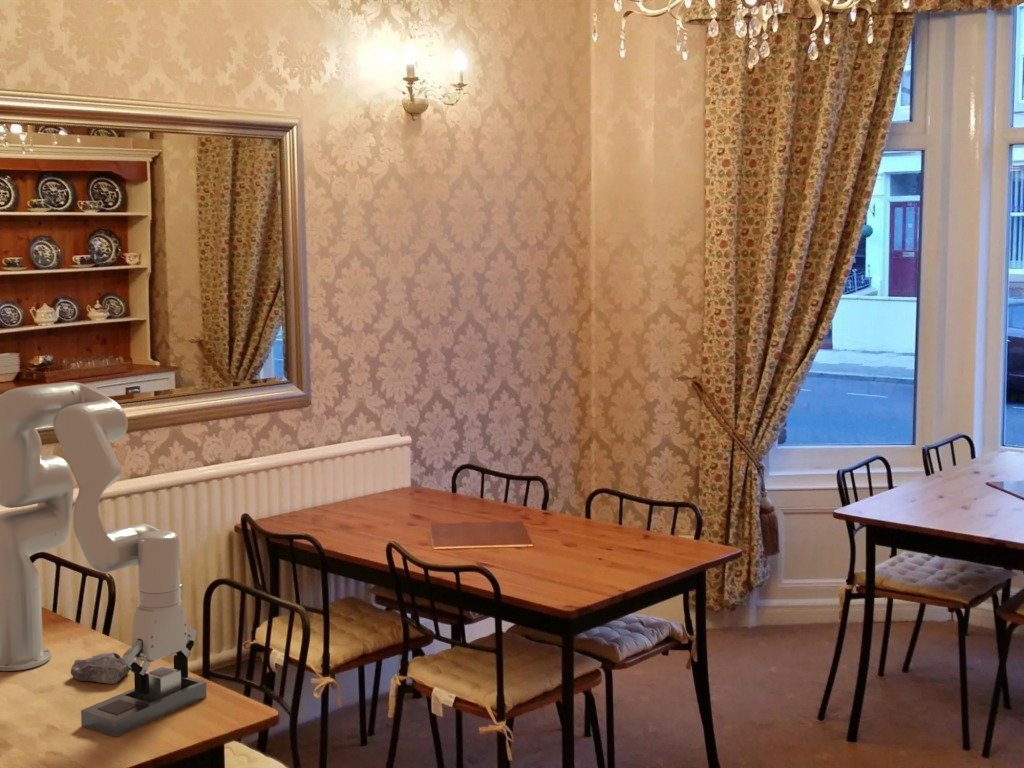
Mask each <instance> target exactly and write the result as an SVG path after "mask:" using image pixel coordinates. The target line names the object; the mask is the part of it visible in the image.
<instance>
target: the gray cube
mask: <svg viewBox="0 0 1024 768" xmlns="http://www.w3.org/2000/svg"><path fill="white" fill-rule="evenodd" d="M146 673H147V674H149V694H147V695H144V694H142V697H143V701H145V702H148V703H152V702H155V701H157V700H159V699H161V698H164V697H166V696H168V695H171V694H173V693H175V692H178V691H180V690H181V670H177V669H174V667H169V666H166V665H159V666H157V667H154V668H152V669H149V670H147V671H146Z"/></svg>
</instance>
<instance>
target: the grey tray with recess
mask: <svg viewBox="0 0 1024 768" xmlns="http://www.w3.org/2000/svg"><path fill="white" fill-rule="evenodd" d="M204 698H207V681H205V680H201V679H197V678H194V677H190V676H188V677H187V678H182V677H181V690H180V691H178V692H175V693H173V694H171V695H168V696H166V697H164V698H161V699H159V700H157V701H155V702H152V703H148V702H145V701H143V697H142V694H140V693H137V692H135V687H134V688H132V689H129V690H127V691H125V692H122V693H120V694H118V695H115V696H112V697H110V698H107V699H105V700H103V701H100V702H98V703H95V704H93V705H90V706H89V707H85V708H83V709H81V710H80V716H81V717H80V719H81V721H80V722H81V727H83V728H86V729H90V730H92V731H95V732H98V733H102V734H104V735H107V736H111V737H113V738H118V737H120V736H122V735H125V734H127V733H129V732H131V731H133V730H135V729H138V728H140V727H143V726H145V725H146V724H149V723H151V722H153V721H156V720H158V719H160V718H163V717H164V716H167V715H169V714H171V713H174V712H176V711H179V710H180V709H182V708H184V707H187V706H189V705H192V704H193V703H196V702H199V701H201V700H202V699H204Z"/></svg>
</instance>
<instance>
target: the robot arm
mask: <svg viewBox="0 0 1024 768" xmlns="http://www.w3.org/2000/svg"><path fill="white" fill-rule="evenodd" d="M128 421H129V420H128V417H127V414H126V413H125V410H124V408H122V406H121V405H120V404H119V403H118V402H116V400H114V399H112V398H110V397H109V396H107V395H105V394H104V393H101V392H99V391H97V390H95V389H93V388H91V387H90V386H88V385H85V384H83V383H81V382H76V381H64V382H55V383H45V384H35V385H28V386H27V385H26V386H22V387H16V388H12V389H9V390H6V391H5V392H3V393H2V394H0V506H2V507H4V508H9V509H15V508H21V507H26V508H21V509H17V510H13V511H8V512H7V511H6V512H4V513H1V514H0V671H1V672H14V671H16V672H17V671H24V670H28V669H33V668H36V667H39V666H42V665H44V664H46V663H48V662H49V661H50V660H51V658H52V651H51V650H50V648H48V647H45V646H43V645H44V640H43V613H42V609H43V608H42V587H41V585H42V584H41V576H40V572H39V570H38V568H37V567H36V565H35V564H34V563H33V561H32V560H31V558H30V556H32V555H34V554H35V555H36V554H37V553H41V552H45V551H49V550H54V549H56V548H58V547H61V546H63V545H65V543H66V542H67V540H68V538H69V536H70V532H71V527H72V526H71V525H72V522H73V529H74V533H75V537H76V539H77V542H78V544H79V546H80V548H81V551H82V552H83V555H84V557H85V559H86V560H87V562H88V564H89V565H90V566H91V567H92V568H93V569H94V570H96V571H98V573H99V572H100V573H105V574H106V573H111V572H116V571H118V570H121V569H122V570H123V569H125V568H128V567H133V566H137V565H138V566H137V567H138V568H137V569H138V573H137V574H138V575H137V576H138V577H137V578H138V580H137V581H138V606H137V607H135V610H134V615H133V619H132V620H133V622H132V628H131V629H132V630H131V645H130V647H129V648H128V649H127V650H126V651H125V653H124V654H122V658H123V659H124V661H125V663H126V666H127V668H129V669H130V671H131V673H134V674H133V676H134V677H133V678H134V680H133V682H134V688H135V692H137V693H140V694H144V695H147V694H149V674H147V673H146V672H147V671H148V669H149V668H150V665H151V664H152V663H153V662H155V661H156V662H157V661H158V660H161V659H164V658H166V657H169V656H172V655H173V669H177V670H181V677H182V678H187V677H189V664H188V663H189V659H188V658H189V657H190V656H191V651H192V649H193V647H194V645H195V639H196V636H197V633H198V631H197V630H196V629H194V628H190V627H188V626H187V619H186V618H187V617H186V611H185V608H184V603H183V600H182V599H181V597H182V595H181V592H182V591H183V590H184V587H183V585H182V584H181V557H180V555H181V553H180V551H181V549H180V538H179V536H178V534H177V533H176V532H174V531H170V530H160V529H158V528H156V527H154V526H153V525H150V524H147V523H136V524H131V525H127V526H122V527H119V528H114V529H111V530H106V528H105V526H104V524H103V521H102V520H101V515H100V511H99V509H100V508H99V506H100V500H101V498H102V496H103V493H104V492H105V491H106V490H108V489H109V488H110V487H112V486H113V485H114V484H116V483H117V482H118V481H119V480H120V478H121V477H122V475H123V469H122V466H121V464H120V461H119V460H118V458H117V455H116V454H115V453H116V452H115V451H114V448H113V447H112V444H111V442H116V441H119V440H121V439H122V438H123V437H125V435H126V434H127V431H128V426H129V423H128ZM47 427H53V430H54V431H53V432H54V434H55V436H56V438H57V439H56V440H57V441H58V443H59V445H60V448H61V450H62V451H63V455H64V456H65V459H66V460H65V459H64V458H62V457H61V456H59V455H55V454H48V455H47V454H46V455H42V448H43V445H42V443H43V442H42V438H41V435H40V433H39V432H38V430H37V429H41V428H47ZM74 479H75V481H76V483H77V486H78V493H77V495H76V499H75V502H74V486H75V485H74V484H75V483H74ZM73 502H74V507H73ZM32 505H36V506H32ZM27 506H31V507H28V508H27ZM73 508H74V509H73ZM72 513H73V514H72ZM72 515H73V516H72ZM72 517H73V521H72ZM174 654H175V655H174Z"/></svg>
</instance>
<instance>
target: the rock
mask: <svg viewBox="0 0 1024 768" xmlns="http://www.w3.org/2000/svg"><path fill="white" fill-rule="evenodd" d="M130 671H131V670H130V669H129V668H127V666H126V663H125V661H124V659H123V657H121V655H119V654H118V653H117V652H107V653H100V654H97V655H93V656H91V657H88V658H85V659H76V660H74V663H73V664H72V666H71V667H70V675H71V676H72V677H73V678H74V679H76V680H77V681H81V682H83V681H84V682H86V681H88V682H92V683H95V682H96V683H104V684H110V685H116V684H117V683H118V682H120V681H121V679H122V678H124V677H125V676H126V675H127V674H128V673H130Z"/></svg>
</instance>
